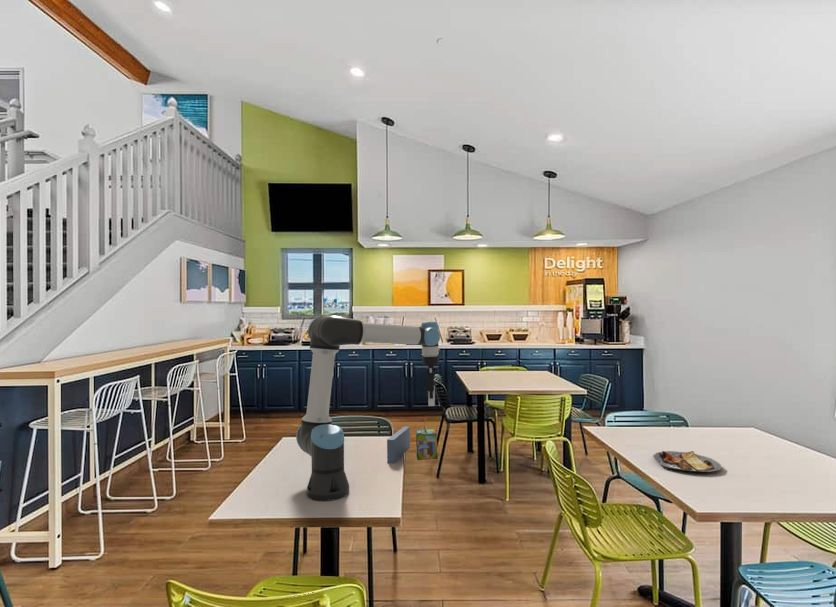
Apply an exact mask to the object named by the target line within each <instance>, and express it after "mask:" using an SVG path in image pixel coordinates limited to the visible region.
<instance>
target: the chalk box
mask: <svg viewBox="0 0 836 607" xmlns="http://www.w3.org/2000/svg"><path fill="white" fill-rule="evenodd" d="M422 424H423V429H415V447H416V448H415V452H416V453H415V454H416V460H417V461H422V460H439V458H438V440H437V439H438V438H437V437H438V435H437V432H436V429H435V428H429V429H428V428H426V427H425V423H424V422H423V423H422Z"/></svg>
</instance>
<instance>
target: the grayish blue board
mask: <svg viewBox="0 0 836 607" xmlns="http://www.w3.org/2000/svg"><path fill="white" fill-rule="evenodd" d="M410 429H411V427H410V426H403V427H401V428H400V429H398V431H396V432H394V434H392V435H391V436H389V437H388V438H386V456H387V457H386V459H387V464H388V463H389V464H395V463H396V462H397V461H398V460H399V459H400V458H401V457H403V455H404V454H405V453H406V452H407V451H408V450H409V449H410V448H411V430H410ZM403 453H404V454H403Z"/></svg>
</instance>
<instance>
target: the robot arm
mask: <svg viewBox="0 0 836 607" xmlns="http://www.w3.org/2000/svg"><path fill="white" fill-rule="evenodd" d="M307 335H308V338H309V339H310V340H309V349H310V351H311V352H312V357H311V358H312V359H311V368H310V376H309V377H310V378H309V386H308V396H307V404H306V412H305V413H306V414H305V415H304V416H303V417H301V424H300V425H299V427H298V429H297V430H296V433H295V434H296V435H295V437H296V442H297V445H298V446H299V448H300V449H301V450H302V451H303V453H305V454H307V455H309V456H310V458H311V472H310V473H311V474H310V478H309V479H308V483H307V487H306V497H307V498H309V499H310V500H312V501H313V500H314V501H318V502H319V501H321V502H323V501H324V502H326V501H327V502H328V501H334V500H338V499H341V498H344V497H346V496H348V494H349V493H350V483H349V480H348V477H347V475H346V472H345V436H344V434H345V433H344V430H343V428H342V427H341V426H339V425H336V424H332V423H333V419H332V418H331V417H330V415H329V414H330V405H331V395H332V386H333V377H334V376H333V375H334V368H335V367H334V366H335V358H336V357H335V356H336V354H337V353H338V352H339V351H340V348H341V347H340V346H347V345H349V346H350V345H356V346H357V345H358V346H359V345H361V343H373V344H392V345H393V344H394V345H395V344H396V345H406V346H407V345H411V346H412V345H413V346H414V345H416V346H421V354H422V360H421V361H422V362H421V363H422V365H423V366H428V367H427V368H426V378H427V389H426V392H427V398H428V400H427V402H428V407H435V406H436V403H435V401H436V394H435V393H436V390H435V388H436V387H435V386H436V385H437V383H436V382H435V378H436V368H435V366H437V365H439V364H440V357H439V352H440V350H441V348H440V347H439V342H440V339H441V333H440V330H439V323H438V322H437V321H422V322H421V326H420V325H419V326H413V325H403V324H402V325H401V324H399V325H398V324H388V323H387V324H386V323H372V322H363V321H362V320H361V319H355V318H349V317H344V316H340V315H327V314H326V315H320V316H316V317H315V318H313V319H312V320H311V322H310V323H309V325H308V329H307Z"/></svg>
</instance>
